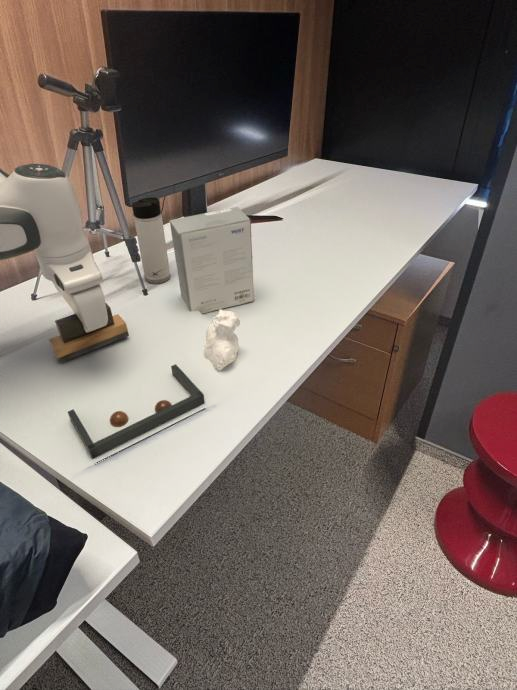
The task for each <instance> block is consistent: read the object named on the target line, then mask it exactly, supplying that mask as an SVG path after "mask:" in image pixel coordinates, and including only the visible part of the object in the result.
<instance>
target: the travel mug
mask: <svg viewBox="0 0 517 690" xmlns="http://www.w3.org/2000/svg"><path fill="white" fill-rule="evenodd" d="M131 209H132V213H133V220H134V226H135V231H136V232H135V233H136V237H137V242H138V248H139V253H140V258H141V264H142V269H143V275H144V276H143V277H144V279H145V281H146V282H147V283H149V284H155V285H157V284H159V285H160V284H162V283H165V282H167V281H169V280H170V278H171V271H170V262H169V256H168V249H167V243H166V235H165V229H164V228H165V227H164V222H163V215H162V210H161V204H160V199H159V198H158V197H144V198H141V199H138V200H137V201H135V202H132V204H131Z"/></svg>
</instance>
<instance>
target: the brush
mask: <svg viewBox="0 0 517 690" xmlns="http://www.w3.org/2000/svg"><path fill="white" fill-rule="evenodd" d="M105 304H106V309H107V315H108V322H107V325H106V326H104V327H101V328H99V329H96V330H93V331H91V332H86V331H85V330H84V329H83V326H82V323H81V320H80V319H79V318H78V316H77V315H76V314H75V313H73V314H71V315H67V316H65V317H62V318H59V319H56V320H54V323H55V325H56V329H57V332H58V334H59V335H57V336H55V337H52V338H50V339H48V342H49V344H50V347H51V350H52V352H53V354H54V356H55V357H56V359H57V361H58V362H59V364H61V363H63V362H66V361H69V360H71V359H74V358H77V357H80V356H82V355H84V354H87V353H89V352H92V351H94V350H97V349H100V348H102V347H104V346H107V345H109V344H112V343H114V342H117V341H119V340H122V339H125V338H126V337H129V335H130V334H129V330H128V326H127V323H126V321H125V320H124V319H123V318H122V317H121V316H120V315H119V314H118V313H116V314H115V315H113V312H112V309H111V307H110V305H109V304H108V303H107V302H105Z"/></svg>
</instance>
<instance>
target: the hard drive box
mask: <svg viewBox="0 0 517 690" xmlns="http://www.w3.org/2000/svg"><path fill="white" fill-rule="evenodd" d="M168 221H169V226H170V233H171V238H172V239H171V240H172V246H173V252H174V259H175V264H176V270H177V271H176V272H177V276H178V284H179V290H180V296H181V298H182V300H183V302H184V304H185V305H186V308H187V310H188V311H189V312H195V311H198V312H199V313H200V314H201V315H202V314H207V313H212V312H214V311H217V310H218V311H219V310H220V309H222V310H223V309H226V308H231V307H235V306H236V307H237V306H240V305H243V304H244V305H245V304H247V303H251V302H253V301H254V300H255V291H254V290H255V288H254V269H253V268H254V265H253V244H252V220H251V218H250V217H249V216H247V214H246V213H245V212H244V211H243V210H241V208H239V207H238V206H236V207H231V208H224V209H220V210H214V211H209V212H204V213H199V214H194V215H190V216H183V217H180V218H174V219H170V220H168Z"/></svg>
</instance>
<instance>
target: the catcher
mask: <svg viewBox="0 0 517 690" xmlns="http://www.w3.org/2000/svg"><path fill="white" fill-rule="evenodd" d="M170 368H171V373H172V374H171V375H172V376H173V377H174V378H175V380H177V382H178V383H179V384H180V386H182V387H183V389H184V390H185V391H186V392H187V393H188V394H189V396H188V397H187V398H184V399H183V400H180V401H178V402H175V403H174V404H172V406H170V407H168V408H166V409H163V410H161V411H159V412H157V413H156V412H155V413H153V414H151V415H149V416H147V417H145V418H143V419H141V420H139V421H136V422H135V423H132V424H130V425H129V426H126V427H125V428H122V429H120V430H118V431H116V432H114V433H112V434H110V435H108V436H105V437H103V438H101V439H99V440H97V441H95V442H94V441H93V440H92V438H91V436H90V435H89V434H88V431H87V429H86V428H85V426H84V425H83V423H82V421H81V419H80V418H79V416H78V414H77V413H76V411H75V410H74V409H70V410H69V411H67V415H68V418H69V420H70V423H71V424H72V426H73V427H74V429H75V431H76V432H77V434H78V436H79V438H80V440H81V441H82V443H83V445H84V446H85V448H86V450H87V453H88V454H89V456H90V458H91V459H92V460H93V459H95V458H98V457H99V456H102V455H103V454H106V453H108V452H110V451H112V450H113V449H116V448H118V447H120V446H122V445H124V444H126V443H128V442H130V441H131V440H134V439H136V438H138V437H140V436H142V435H144V434H146V433H148V432H150V431H152V430H154V429H156V428H158V427H160V426H162V425H164V424H166V423H168V422H170V421H173V420H174V419H176V418H179V417H180V416H182V415H184V414H187V413H189V412H191V411H192V410H195V409H196V408H198V407H200V406H202V405H205V401H206V400H205V395H204V393H203V392H202V391H201V390H200V388H198V387H197V386H196V384H194V382H193V381H192V380H191V379H190V378H189V377H188V376H187V374H186V373H185V372H184V371H183V370H182V369H181V368H180V367H179V366H178V365H177V363H176V364H172V365H171V366H170ZM204 410H206V407H204V408H202V409H199V410H198V411H195V412H194V413H192V414H190V415H188V416H186V417H184V418H182V419H180V420H178V421H176V422H174V423H172V424H170V425H168V426H165V427H164V428H162V429H160V430H158V431H156V432H154V433H152V434H150V435H148V436H146V437H144V438H143V439H140V440H137V441H136V442H134V443H133V444H130V445H129V446H126V447H125V448H123V449H120V450H119V451H115V452H114V453H112V454H110V455H108V456H106V457H104V458H102V459H100V460H99V461H97V462H94V464H95V463H97V464H99V463H101V462H103V461H105V460H108V459H109V458H111V457H113V456H115V455H117V454H119V453H121V452H123V451H125V450H127V449H129V448H131V447H133V446H135V445H137V444H139V443H141V442H143V441H144V440H146V439H148V438H151V437H152V436H154V435H156V434H159V433H160V432H163V431H165V430H167V429H168V428H170V427H172V426H175V425H176V424H179V423H180V422H183V421H185V420H186V419H188V418H190V417H193V416H195V415H196V414H198V413H200V412H203V411H204ZM118 452H119V453H118ZM110 456H111V457H110ZM108 457H109V458H108ZM104 459H105V460H104ZM102 460H103V461H102ZM100 461H101V462H100ZM98 462H99V463H98ZM94 464H93V465H94ZM95 465H96V464H95Z"/></svg>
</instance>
